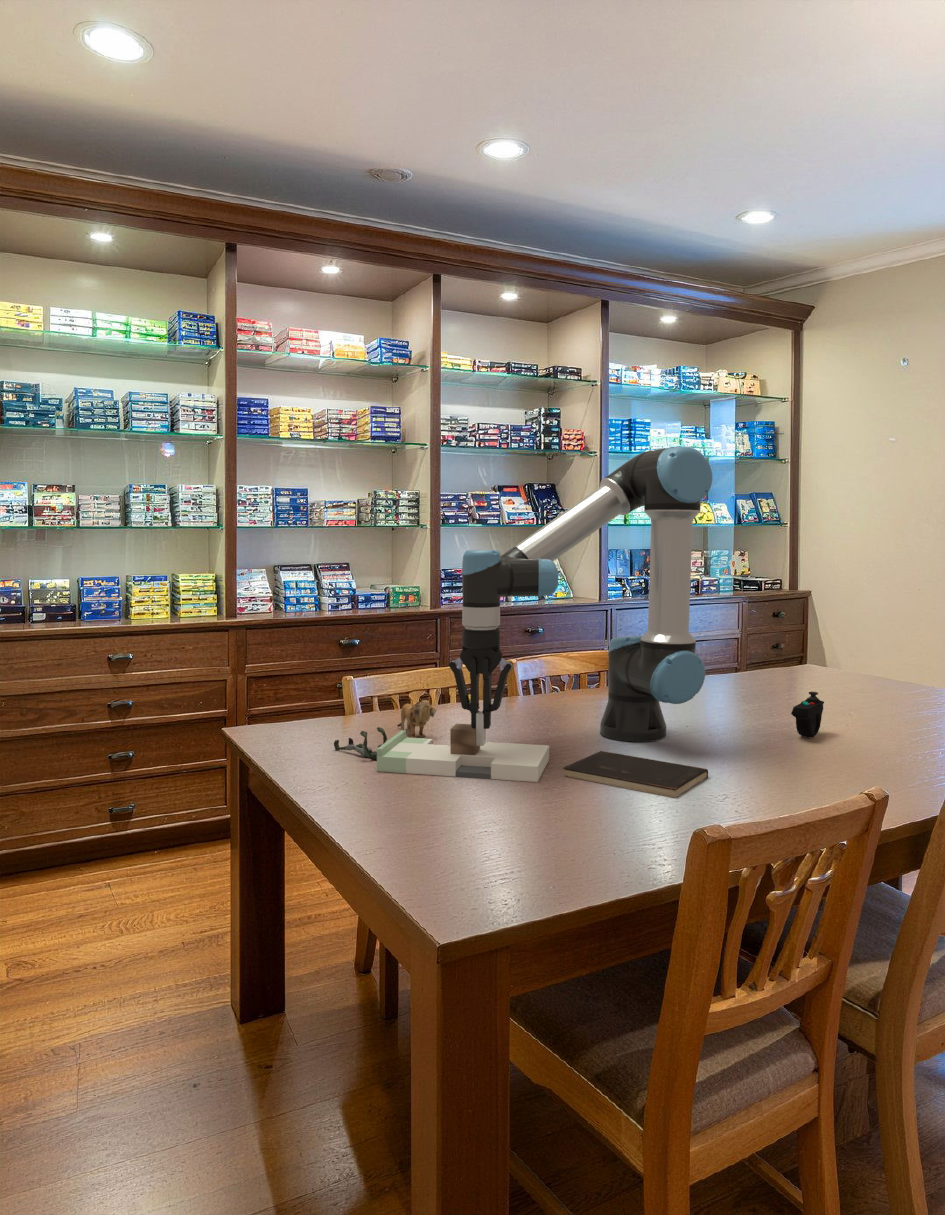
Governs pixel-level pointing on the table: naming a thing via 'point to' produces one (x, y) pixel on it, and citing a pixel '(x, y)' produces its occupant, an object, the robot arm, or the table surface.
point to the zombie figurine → (362, 745)
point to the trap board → (462, 759)
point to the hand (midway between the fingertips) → (480, 744)
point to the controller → (808, 715)
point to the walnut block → (463, 740)
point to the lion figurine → (416, 716)
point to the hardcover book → (636, 773)
